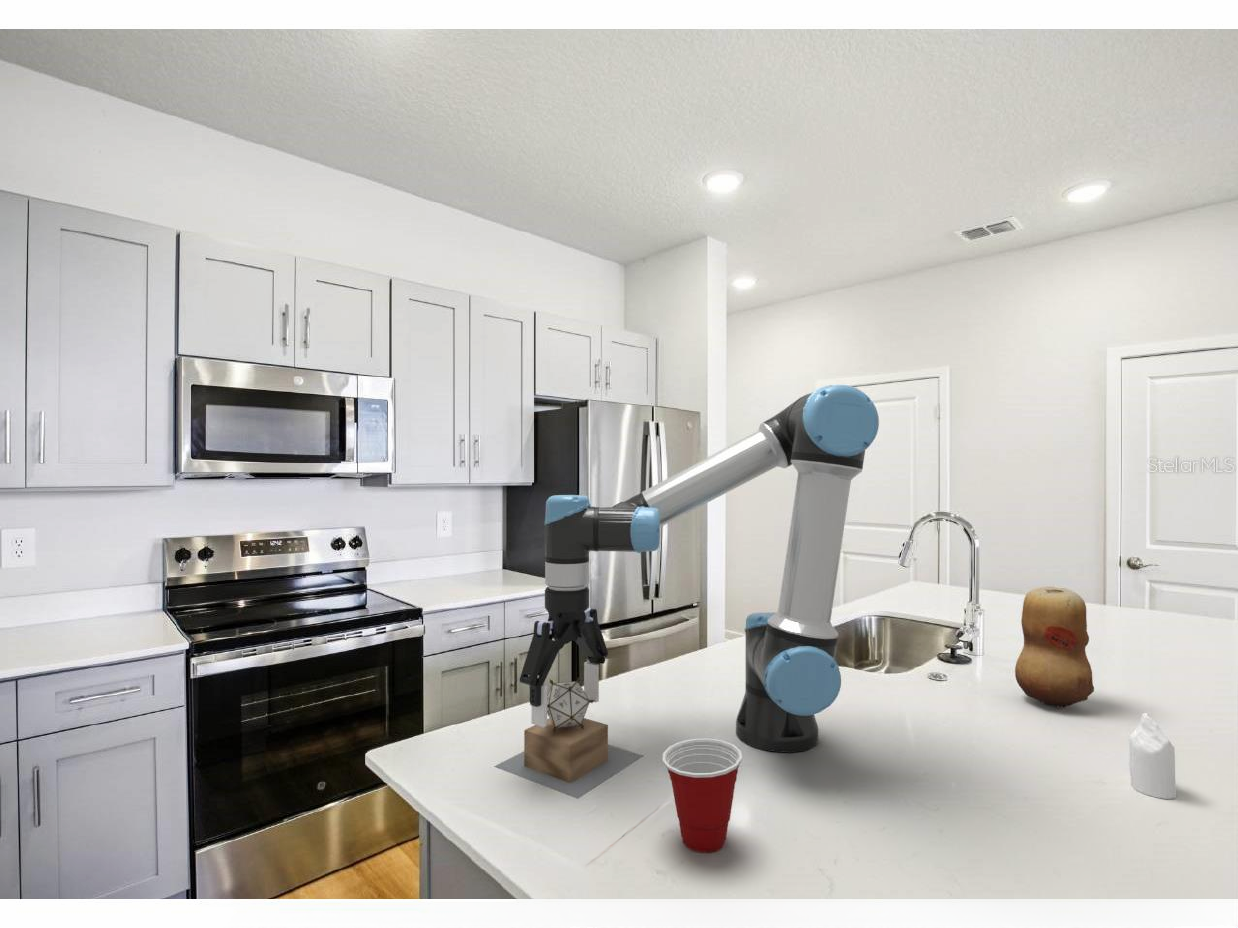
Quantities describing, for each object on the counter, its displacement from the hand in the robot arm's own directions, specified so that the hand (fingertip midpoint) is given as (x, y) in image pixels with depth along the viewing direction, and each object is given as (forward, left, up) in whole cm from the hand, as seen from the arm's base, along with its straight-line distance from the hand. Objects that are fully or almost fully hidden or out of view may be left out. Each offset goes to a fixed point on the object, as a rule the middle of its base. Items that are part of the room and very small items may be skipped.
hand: (566, 711), depth 110 cm
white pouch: (-80, -48, -9) cm, 94 cm away
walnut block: (0, 0, -9) cm, 9 cm away
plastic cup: (-29, +6, -9) cm, 31 cm away
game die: (0, 0, -3) cm, 3 cm away
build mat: (0, -1, -9) cm, 9 cm away
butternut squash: (-66, -83, -9) cm, 106 cm away
